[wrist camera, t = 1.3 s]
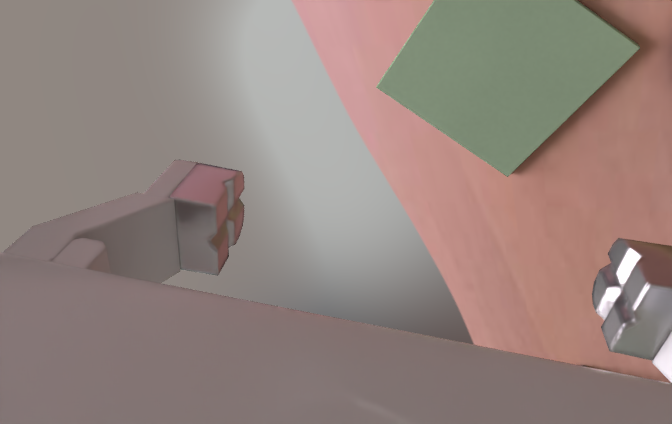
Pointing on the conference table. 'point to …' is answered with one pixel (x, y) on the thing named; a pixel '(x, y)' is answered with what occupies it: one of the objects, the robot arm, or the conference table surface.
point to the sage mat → (504, 71)
